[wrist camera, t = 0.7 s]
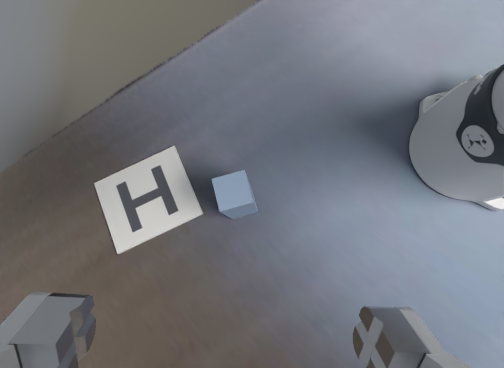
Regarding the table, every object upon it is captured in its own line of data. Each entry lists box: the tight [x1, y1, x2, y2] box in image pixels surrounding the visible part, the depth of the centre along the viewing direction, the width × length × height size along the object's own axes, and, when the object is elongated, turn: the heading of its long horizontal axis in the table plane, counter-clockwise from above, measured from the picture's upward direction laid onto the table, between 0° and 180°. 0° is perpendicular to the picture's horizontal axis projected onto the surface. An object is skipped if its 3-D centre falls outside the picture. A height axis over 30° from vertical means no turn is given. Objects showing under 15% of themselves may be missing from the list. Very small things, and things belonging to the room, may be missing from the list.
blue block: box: [212, 170, 258, 219], centre depth 37 cm, size 4×4×10 cm
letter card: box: [94, 146, 203, 254], centre depth 43 cm, size 14×12×1 cm
